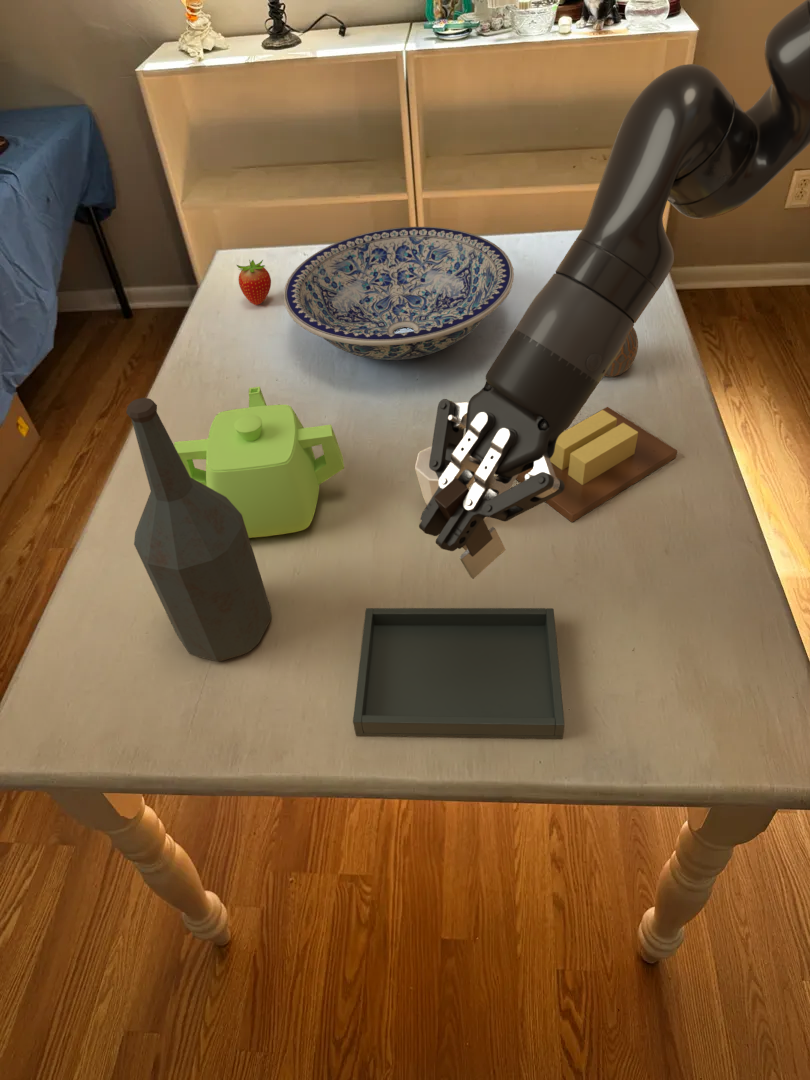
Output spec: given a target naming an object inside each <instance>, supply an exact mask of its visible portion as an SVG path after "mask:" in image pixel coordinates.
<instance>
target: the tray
mask: <svg viewBox="0 0 810 1080" xmlns="http://www.w3.org/2000/svg"><path fill="white" fill-rule="evenodd" d="M555 618H556V617H555V610H554V608H551V607H549V608H548V607H456V608H455V607H365V612H364V622H363V630H362V638H361V647H360V656H359V664H358V665H359V666H358V673H357V683H356V694H355V701H354V710H353V717H352V724H353V728H354V732H355V736H356V737H401V738H403V737H404V738H406V737H407V738H408V737H409V738H412V737H413V738H471V739H472V738H478V739H479V738H480V739H481V738H482V739H537V740H538V739H540V740H544V739H545V740H546V739H547V740H563V738H564V730H565V716H564V715H565V714H564V704H563V694H562V684H561V682H562V681H561V673H560V663H559V653H558V652H559V649H558V640H557V629H556V621H555V620H556V619H555Z"/></svg>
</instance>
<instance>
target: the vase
mask: <svg viewBox="0 0 810 1080" xmlns="http://www.w3.org/2000/svg"><path fill="white" fill-rule="evenodd" d="M638 350H639V337H638V334H637V331H636V329H635V328H634V326H633V328H632V329H631V331H630V333H629V335H628V337H627V339H626V341H625V343H624V345H623V347H622V348H621V350H620V352H619V354H618V355H617V357H616V359H615V360H614V361H613V363H612V364H611V366H610V367H609V369H608V370H607V372H606V373H605V375H604V376H603V377H617V376H620V375H622V374H624V373H625V372H626V371H628V370H629V369H630V368H631V367H632V365H633V364H634V362H635V360H636V358H637V354H638Z"/></svg>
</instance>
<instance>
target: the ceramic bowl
mask: <svg viewBox="0 0 810 1080" xmlns="http://www.w3.org/2000/svg"><path fill="white" fill-rule="evenodd" d="M514 280H515V272H514V267H513V264H512V261H511V260H510V258H509V256H508V255H507V253H506V252H505V251H504V250H503V249H502V248H501V247H500V246H498V245H496V244H495V243H493V242H492V241H490V240H488V239H487V238H484V237H482V236H479V235H477V234H474V233H471V232H467V231H463V230H459V229H453V228H447V227H439V226H438V227H437V226H403V227H393V228H392V227H391V228H385V229H379V230H375V231H374V230H373V231H370V232H369V231H368V232H364V233H361V234H358V235H354V236H350V237H347V238H344V239H342V240H339V241H337V242H334V243H333V244H330V245H328V246H326V247H324V248H322V249H319V251H317V252H315V253H314V254H312V255H311V256H308V257H307V258H306V259H305V260H304V261H303V262H302V263H300V264H299V265H297V267H296V268H295V269H294V270H293V272H292V273H291V274H290V276H289V277H288V279H287V281H286V283H285V287H284V290H283V302H284V304H283V305H284V307H285V309H286V311H287V313H288V314H289V316H290V318H291V319H292V320H293V321H294V322H295V323H296V325H298V326H300V327H301V328H303V329H304V330H306V331H307V332H309V333H311V334H313V335H315V336H318V337H320V338H322V339H324V340H325V341H326V342H327V343H329V344H330V345H333V346H335V347H336V348H338V349H340V350H342V351H344V352H346V353H349V354H352V355H354V356H358V357H362V358H366V359H373V360H378V361H379V360H380V361H400V360H401V361H402V360H409V359H410V360H411V359H416V358H421V357H424V356H428V355H432V354H434V353H437V352H440V351H442V350H444V349H447V348H449V347H451V346H452V345H454V344H456V343H457V342H459V341H461V340H462V339H464V338H465V337H466V336H468V335H469V334H470V333H471V332H473V330H475V329H476V328H477V327H478V326H479V324H480V323H482V321H483V320H484V319H485V318H487V317H488V316H489V315H490V314H491V313H493V312H494V311H495V310H496V309H497V308H498V307H500V306H501V304H503V303H504V301H505V300H506V299H507V297H508V296H509V294H510V292H511V290H512V288H513V285H514ZM401 328H402V329H403V328H410V329H413V330H412V331H406V332H396V333H394V332H395V330H398V329H401Z"/></svg>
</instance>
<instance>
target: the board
mask: <svg viewBox="0 0 810 1080" xmlns="http://www.w3.org/2000/svg"><path fill="white" fill-rule="evenodd" d="M601 410H604V411H606V412H607V413H609V414H610V415H612V416H614V417H615V418H617V422H616V427H617V426H618V425H620V424H622V423H625V424H626V425H628V426H629V427H631V428H633V429H634V430H636V431H637V432H638V437H637V442H636V448H635V453H634V454H633V455H632V456H630V457H628V458H627V459H625V460H623V461H622V462H620V463H618V464H617V465H615V466H613V467H612V468H610V469H608V470H607V471H605V472H604V473H602V474H600V475H599V476H597V477H595V478H594V479H592V480H590V481H589V482H587V483H585V484H584V485H581V484H580V483H579V482H577V481H576V480H575V479H573V478H572V477H570V476H569V475H568V471H569V467H567V468H565V469H564V470H561V469H560V468H558V467H557V466H556V465H554V464H553V463H551V464H552V467H553V470H554V473H555V476H556V477H557V478H559V479H561V480H562V481H563V482H564V484H565V487H564V490H563V492H562V493H560V494H559V495H557V496H555V497H553V498H551V499H549V500H547V501H545V502H544V503H546V504H547V505H548V506H550V507H551V508H552V509H554V510H555V511H556V512H558V513H559V514H561V516H563V517H564V518H565V519H567V520H568V521H570V522H571V523H574V522H575V521H577V520H579V519H580V518H582V517H583V516H585V515H586V514H588V513H589V512H591V511H593V510H595V509H596V508H598V507H599V506H601V505H602V504H604V503H606V502H608V501H609V500H610V499H612V498H614V497H615V496H617V495H618V494H620V493H622V492H624V491H625V490H627V489H628V488H630V487H631V486H633V485H634V484H636V483H637V482H640V481H641V480H642V479H644V478H646V477H648V476H649V475H651V474H652V473H654V472H655V471H657V470H659V469H660V468H661V467H664V466H665V465H666V464H668V463H670V462H672V461H673V460H675V459H676V458H677V455H678V450H677V449H676V448H674V447H672V446H671V445H669V444H668V443H666V442H664V441H663V440H662V439H659V438H658V437H657V436H655V435H653V434H652V433H650V432H649V431H647V430H645V429H644V428H643V427H641V426H639V425H638V424H636V423H634V422H633V421H631V420H629V419H628V418H627V417H625V416H623V415H621V414H620V413H619V412H617V411H615V410H614V409H612V408H610V407H609V406H606V407H604V408H602V409H601ZM598 412H599V411H597V412H596V413H598ZM596 413H594V414H596ZM591 416H592V415H590V416H588V417H587V418H589V417H591ZM584 420H585V419H583V420H581V421H580V422H582V421H584ZM580 422H578V423H580ZM575 425H576V424H574V425H572V426H571V427H573V426H575ZM568 429H569V428H567V429H566V430H568ZM566 430H565V431H566ZM563 432H564V431H563ZM532 469H533V468H531V469H529V470H527V471H525V472H522V473H520V474H518V476H517V478H516V479H515V480H517V482H519V484H520V483H521V482H523V481H525V478H524V477H525V475H526V474H528V473H529V472H530V471H531V470H532Z"/></svg>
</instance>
